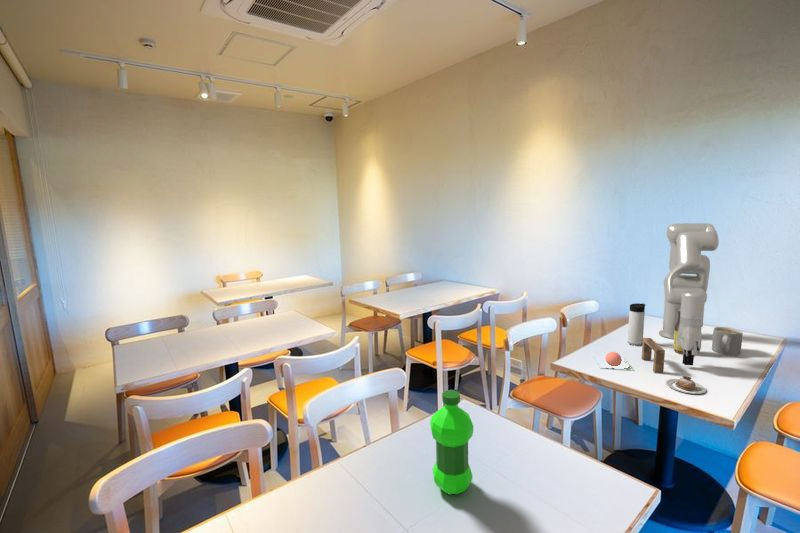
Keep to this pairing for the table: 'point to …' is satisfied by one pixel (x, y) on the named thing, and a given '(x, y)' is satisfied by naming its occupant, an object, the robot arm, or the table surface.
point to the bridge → (658, 354)
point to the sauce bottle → (676, 347)
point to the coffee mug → (727, 341)
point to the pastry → (686, 385)
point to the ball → (613, 359)
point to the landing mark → (629, 366)
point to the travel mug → (636, 324)
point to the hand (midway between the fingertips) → (687, 364)
